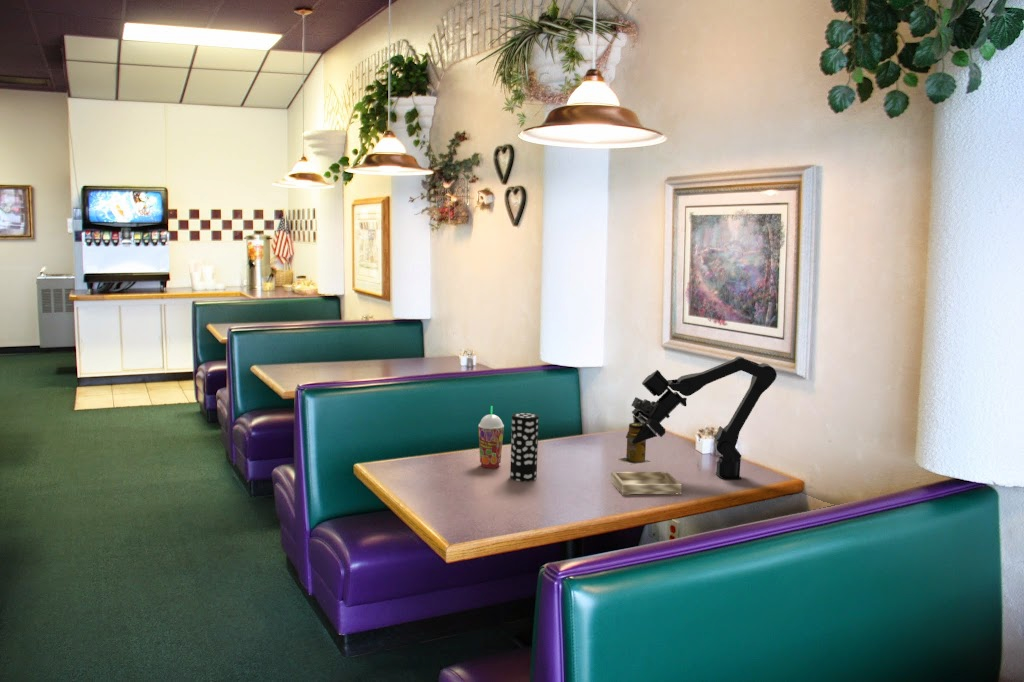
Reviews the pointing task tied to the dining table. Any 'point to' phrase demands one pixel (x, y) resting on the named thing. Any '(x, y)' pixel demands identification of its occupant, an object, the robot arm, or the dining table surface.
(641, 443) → the condiment
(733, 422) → the robot arm
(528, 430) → the white-spotted black cylinder
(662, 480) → the tray
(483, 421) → the smoothie
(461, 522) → the dining table surface
